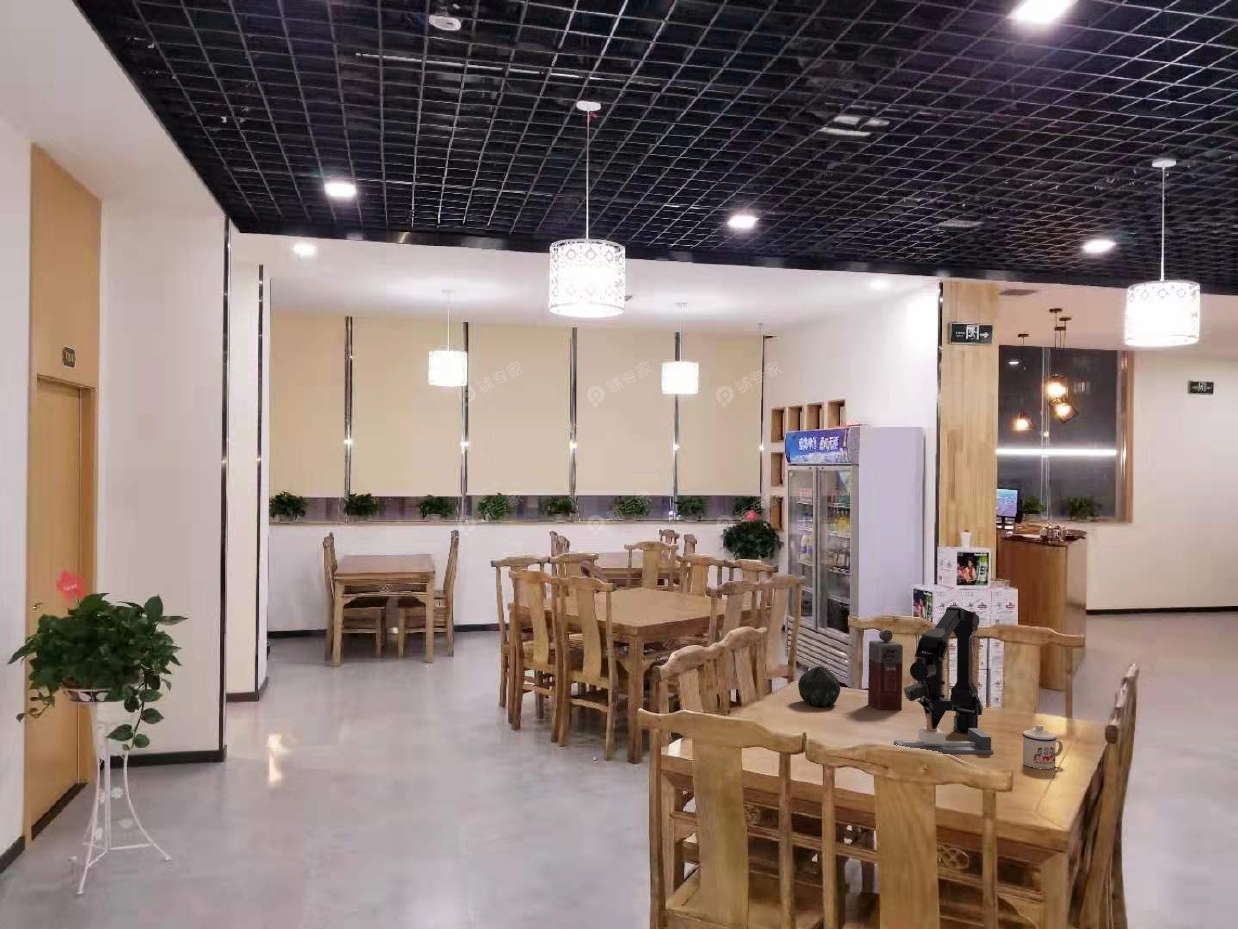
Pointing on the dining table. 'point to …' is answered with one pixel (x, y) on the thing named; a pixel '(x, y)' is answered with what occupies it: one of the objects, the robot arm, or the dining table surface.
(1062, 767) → the dining table surface
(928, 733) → the keeper
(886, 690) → the square decanter bottle
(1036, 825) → the dining table surface
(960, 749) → the track
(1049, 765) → the teacup with lid
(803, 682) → the squash
